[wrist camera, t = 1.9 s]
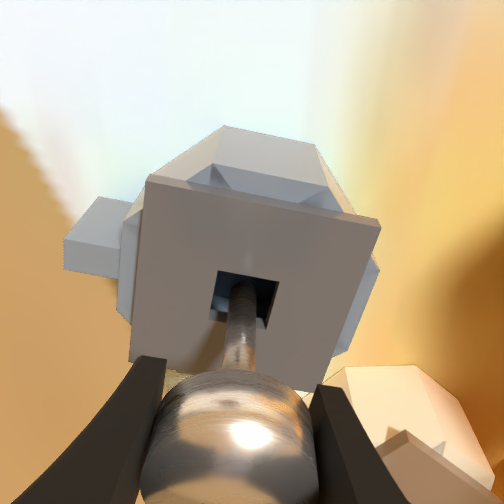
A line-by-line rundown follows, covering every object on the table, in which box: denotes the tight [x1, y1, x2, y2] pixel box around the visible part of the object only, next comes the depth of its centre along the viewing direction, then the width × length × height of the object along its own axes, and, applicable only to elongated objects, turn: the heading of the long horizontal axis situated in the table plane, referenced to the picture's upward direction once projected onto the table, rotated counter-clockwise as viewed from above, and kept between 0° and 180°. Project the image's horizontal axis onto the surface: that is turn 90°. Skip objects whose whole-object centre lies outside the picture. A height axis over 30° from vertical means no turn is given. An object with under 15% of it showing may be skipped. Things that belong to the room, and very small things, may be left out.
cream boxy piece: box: [302, 365, 504, 504], centre depth 23 cm, size 10×8×5 cm
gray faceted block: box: [64, 125, 381, 393], centre depth 17 cm, size 10×8×5 cm
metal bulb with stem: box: [140, 281, 319, 504], centre depth 12 cm, size 4×4×7 cm
